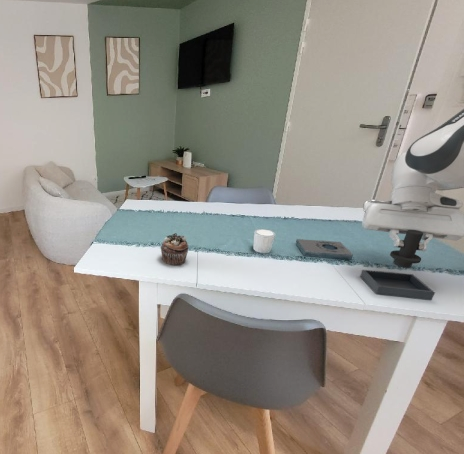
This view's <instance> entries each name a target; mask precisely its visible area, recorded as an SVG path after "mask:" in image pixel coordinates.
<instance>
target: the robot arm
mask: <svg viewBox="0 0 464 454" xmlns="http://www.w3.org/2000/svg"><path fill="white" fill-rule="evenodd" d="M390 184H391V187H392V188H391V191H390V194H389V200H384V199H383V200H378V199H370V200H366V201H365V202H364V203H363V205H362V210H363V212H364V214H363V217H362V221H361V227H362V228H363V229H364V230H367V231H368V230H369V231H375V232H376V231H377V232H383V233H388V236H389V237H390V239H391V240H392V241H393V247H394V248H398V249H400V248H402V247H403V246H404V239H401V238H400V237H399V235H398V234H400V235H406V233H407V231H408V230H417V231H421V232H423V236H422V238H421V241H422V242H421V241H420V243H419V245H418V248H417V250H416V251H419V252H420V251H421V252H425V251H426V250H427V247H428V245H427V244H428V243H429V242H431V241H432V239H439V240H446V241H447V240H448V241H454V242H455V241H459V240H461V239H463V238H464V212H463V211H462V210H460V209H461V208H462V207H463V202H462V201H461V200H460V199H458V198H453V197H449V196H447V195H442V194H440V193H437V192H436V191H450V190H458V189H464V108H463V109H461V110H460V111H459V112H457V113H456V114H454V116H452V117H451V118H449V119H448V120H447V121H445V122H444V123H442V124H441V125H439V126H438V127H436V128H434V129H433V130H431V131H429V132H428V133H426V134H423V135H422V136H420V137H419V138H417V139H416V140H415V141H414V142H412V143H411V145H409V147H408V149H407V150H406V151H404V152H403V153H401V154H399V156H398V157H397V158H396V159H395V161H394V163H393V165H392V169H391V175H390Z"/></svg>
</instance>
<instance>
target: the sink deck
mask: <svg viewBox="0 0 464 454" xmlns="http://www.w3.org/2000/svg"><path fill="white" fill-rule="evenodd" d="M295 245H296V247H297V248H298V249H299V251H300V252H301V254H302V255H303V257H309V258H311V257H312V258H322V259H323V258H324V259H335V260H345V261H347V260H348V261H352V260H353V256H354V254H353V253H352V252H351V251H350V250H349V249H348V248H347V247H346V246H345V245H344V244H343V243H342V241H333V240H331V241H330V240H318V239H317V240H316V239H304V238H303V239H301V238H296V241H295Z"/></svg>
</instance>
